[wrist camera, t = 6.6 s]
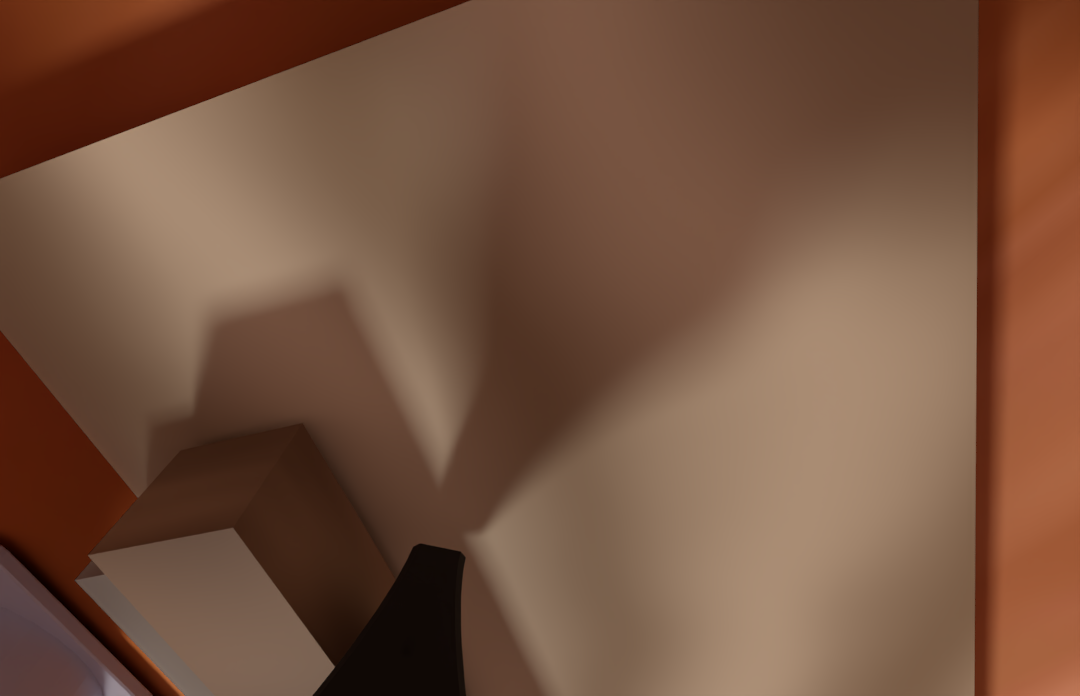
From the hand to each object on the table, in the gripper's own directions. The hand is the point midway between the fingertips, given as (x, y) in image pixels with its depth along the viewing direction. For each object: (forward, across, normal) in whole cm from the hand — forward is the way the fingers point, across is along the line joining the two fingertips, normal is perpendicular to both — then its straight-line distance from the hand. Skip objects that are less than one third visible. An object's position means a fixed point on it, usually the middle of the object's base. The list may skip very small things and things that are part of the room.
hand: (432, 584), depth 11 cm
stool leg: (+1, +1, +4) cm, 4 cm away
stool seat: (+3, -2, 0) cm, 4 cm away
